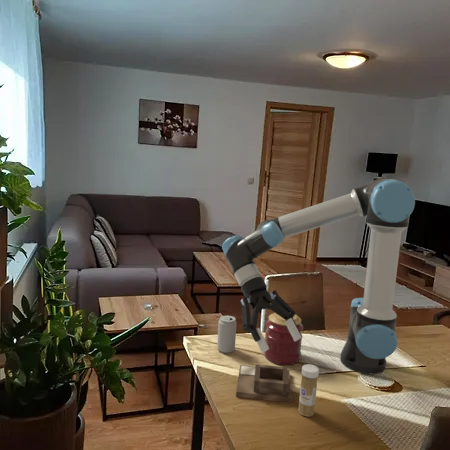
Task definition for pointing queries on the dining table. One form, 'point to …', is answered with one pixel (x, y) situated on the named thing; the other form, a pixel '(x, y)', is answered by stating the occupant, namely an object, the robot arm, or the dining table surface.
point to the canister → (282, 341)
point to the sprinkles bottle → (308, 390)
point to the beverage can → (226, 334)
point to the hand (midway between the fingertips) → (282, 345)
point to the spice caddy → (264, 383)
